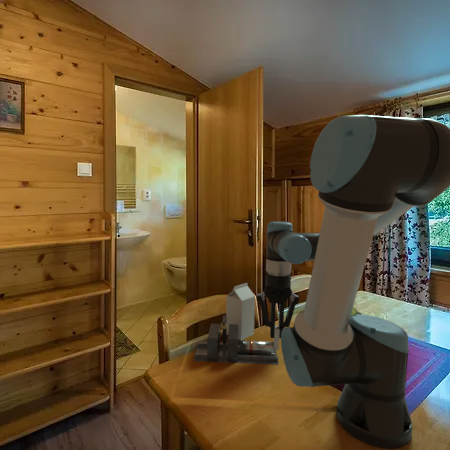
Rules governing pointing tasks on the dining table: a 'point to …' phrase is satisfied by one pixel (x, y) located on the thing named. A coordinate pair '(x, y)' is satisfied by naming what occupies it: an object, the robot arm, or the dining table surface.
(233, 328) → the collar rail
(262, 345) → the tube
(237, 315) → the milk carton
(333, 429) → the dining table surface
